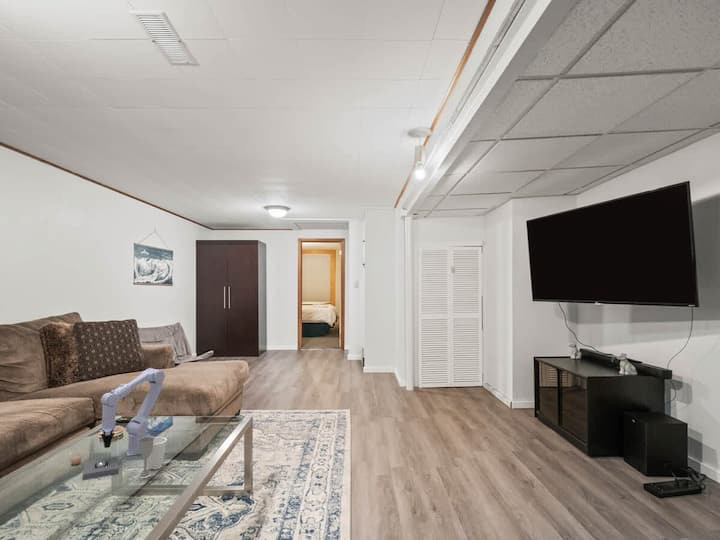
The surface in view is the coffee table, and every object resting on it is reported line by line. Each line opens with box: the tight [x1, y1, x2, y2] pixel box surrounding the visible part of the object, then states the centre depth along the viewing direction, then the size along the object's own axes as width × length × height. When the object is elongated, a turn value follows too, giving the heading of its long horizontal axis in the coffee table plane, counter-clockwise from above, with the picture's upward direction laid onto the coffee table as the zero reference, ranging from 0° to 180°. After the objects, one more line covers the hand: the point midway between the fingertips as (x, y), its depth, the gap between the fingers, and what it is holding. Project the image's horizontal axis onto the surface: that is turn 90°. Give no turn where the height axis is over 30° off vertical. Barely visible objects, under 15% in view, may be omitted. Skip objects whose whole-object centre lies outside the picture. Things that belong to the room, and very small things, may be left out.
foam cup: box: [146, 436, 168, 470], centre depth 203 cm, size 10×9×13 cm
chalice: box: [138, 434, 155, 477], centre depth 193 cm, size 7×7×18 cm
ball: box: [70, 455, 82, 466], centre depth 202 cm, size 4×4×4 cm
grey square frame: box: [82, 456, 119, 480], centre depth 197 cm, size 14×14×2 cm
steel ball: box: [96, 462, 106, 468], centre depth 197 cm, size 4×4×4 cm
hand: (107, 444), depth 204 cm, fingers open, 7 cm apart
